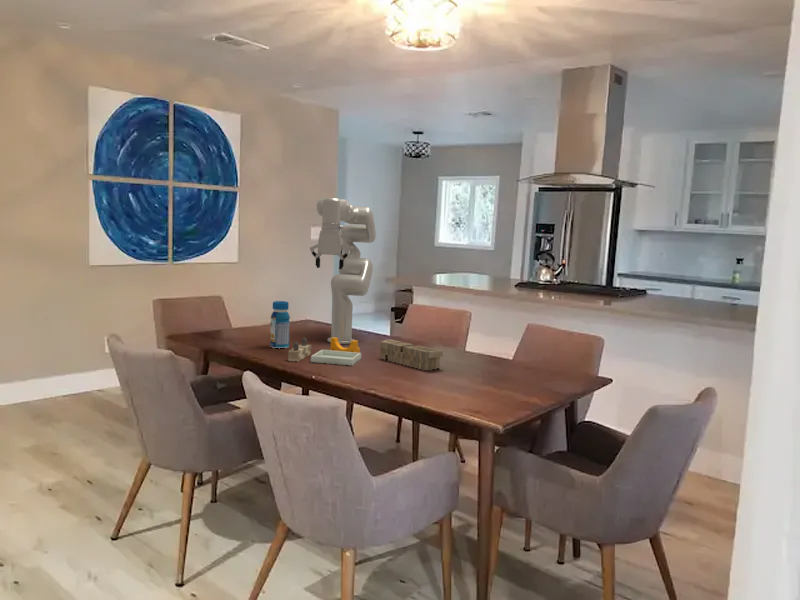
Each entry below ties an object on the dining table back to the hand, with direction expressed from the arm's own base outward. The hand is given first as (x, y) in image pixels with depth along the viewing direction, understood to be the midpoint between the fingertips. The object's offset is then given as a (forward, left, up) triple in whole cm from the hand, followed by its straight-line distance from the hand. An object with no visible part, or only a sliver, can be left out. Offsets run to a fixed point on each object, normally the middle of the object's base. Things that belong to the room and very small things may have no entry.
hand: (329, 268), depth 270 cm
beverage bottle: (0, -22, -36) cm, 42 cm away
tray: (+16, +9, -36) cm, 40 cm away
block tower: (+10, +38, -36) cm, 53 cm away
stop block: (+16, -7, -36) cm, 40 cm away
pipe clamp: (+1, +8, -36) cm, 37 cm away
